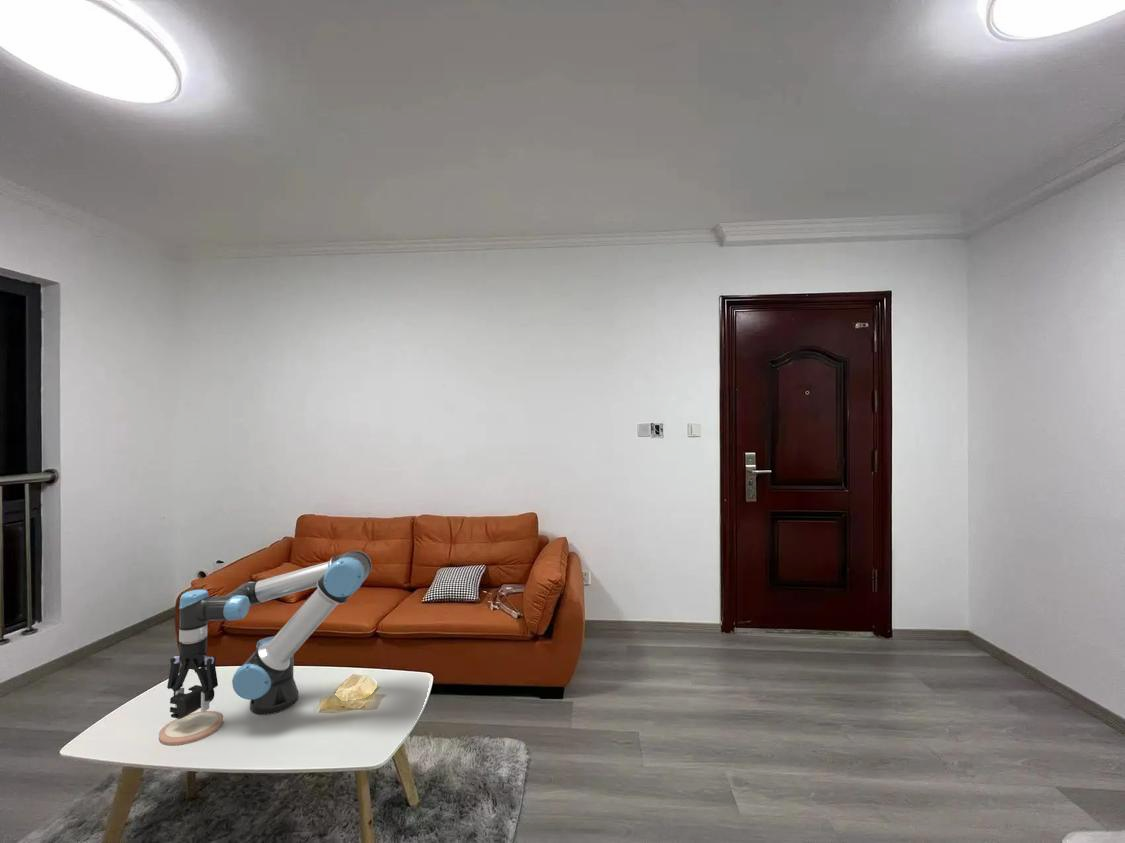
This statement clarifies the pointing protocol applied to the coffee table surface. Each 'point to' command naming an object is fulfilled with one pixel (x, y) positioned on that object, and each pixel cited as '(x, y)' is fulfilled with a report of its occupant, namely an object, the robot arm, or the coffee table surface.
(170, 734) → the plate
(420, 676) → the coffee table surface
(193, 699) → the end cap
